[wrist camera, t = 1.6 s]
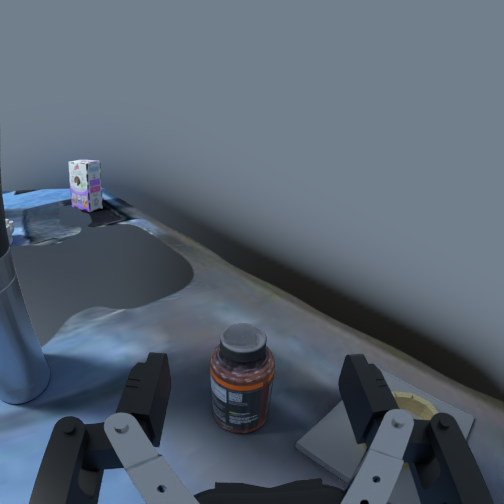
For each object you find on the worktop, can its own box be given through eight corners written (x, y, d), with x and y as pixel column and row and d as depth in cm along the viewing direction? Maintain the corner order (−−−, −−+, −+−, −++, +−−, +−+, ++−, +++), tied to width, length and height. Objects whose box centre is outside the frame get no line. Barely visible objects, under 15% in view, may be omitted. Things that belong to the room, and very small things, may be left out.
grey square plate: (294, 446, 27) (296, 442, 27) (372, 371, 37) (374, 365, 37) (420, 523, 17) (425, 520, 16) (470, 422, 27) (474, 417, 27)
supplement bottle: (256, 389, 34) (263, 311, 30) (276, 427, 29) (291, 350, 25) (206, 400, 32) (202, 321, 28) (221, 441, 27) (220, 365, 23)
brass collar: (342, 440, 27) (348, 429, 26) (384, 391, 33) (389, 380, 32) (414, 481, 21) (423, 472, 20) (445, 424, 27) (453, 413, 26)
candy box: (103, 208, 97) (101, 160, 90) (89, 212, 92) (86, 162, 85) (84, 202, 103) (81, 158, 96) (71, 206, 98) (67, 161, 92)
